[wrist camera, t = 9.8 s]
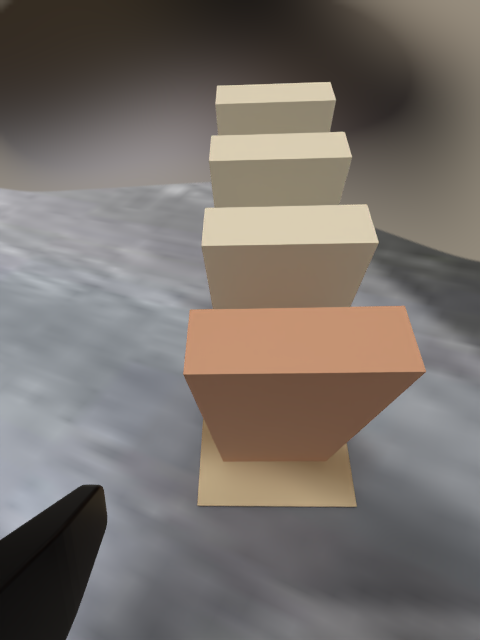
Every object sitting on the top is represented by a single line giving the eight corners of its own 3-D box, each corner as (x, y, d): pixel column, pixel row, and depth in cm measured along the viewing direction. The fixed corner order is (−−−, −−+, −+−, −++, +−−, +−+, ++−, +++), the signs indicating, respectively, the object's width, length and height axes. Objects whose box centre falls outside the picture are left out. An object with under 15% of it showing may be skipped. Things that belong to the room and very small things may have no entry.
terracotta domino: (325, 461, 18) (425, 371, 7) (223, 461, 18) (183, 374, 8) (321, 426, 18) (404, 306, 8) (224, 427, 19) (189, 309, 8)
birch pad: (354, 507, 17) (356, 506, 16) (198, 505, 17) (197, 505, 17) (336, 393, 20) (338, 391, 20) (205, 393, 20) (204, 391, 20)
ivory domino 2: (307, 322, 23) (352, 157, 13) (228, 323, 23) (209, 161, 13) (305, 301, 24) (344, 131, 14) (229, 302, 24) (211, 135, 14)
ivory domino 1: (302, 272, 25) (335, 100, 15) (230, 273, 25) (215, 104, 15) (300, 255, 26) (330, 82, 16) (231, 256, 26) (217, 85, 16)
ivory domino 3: (315, 384, 20) (378, 242, 10) (227, 385, 20) (201, 245, 10) (312, 358, 21) (367, 204, 11) (227, 359, 21) (205, 208, 11)
